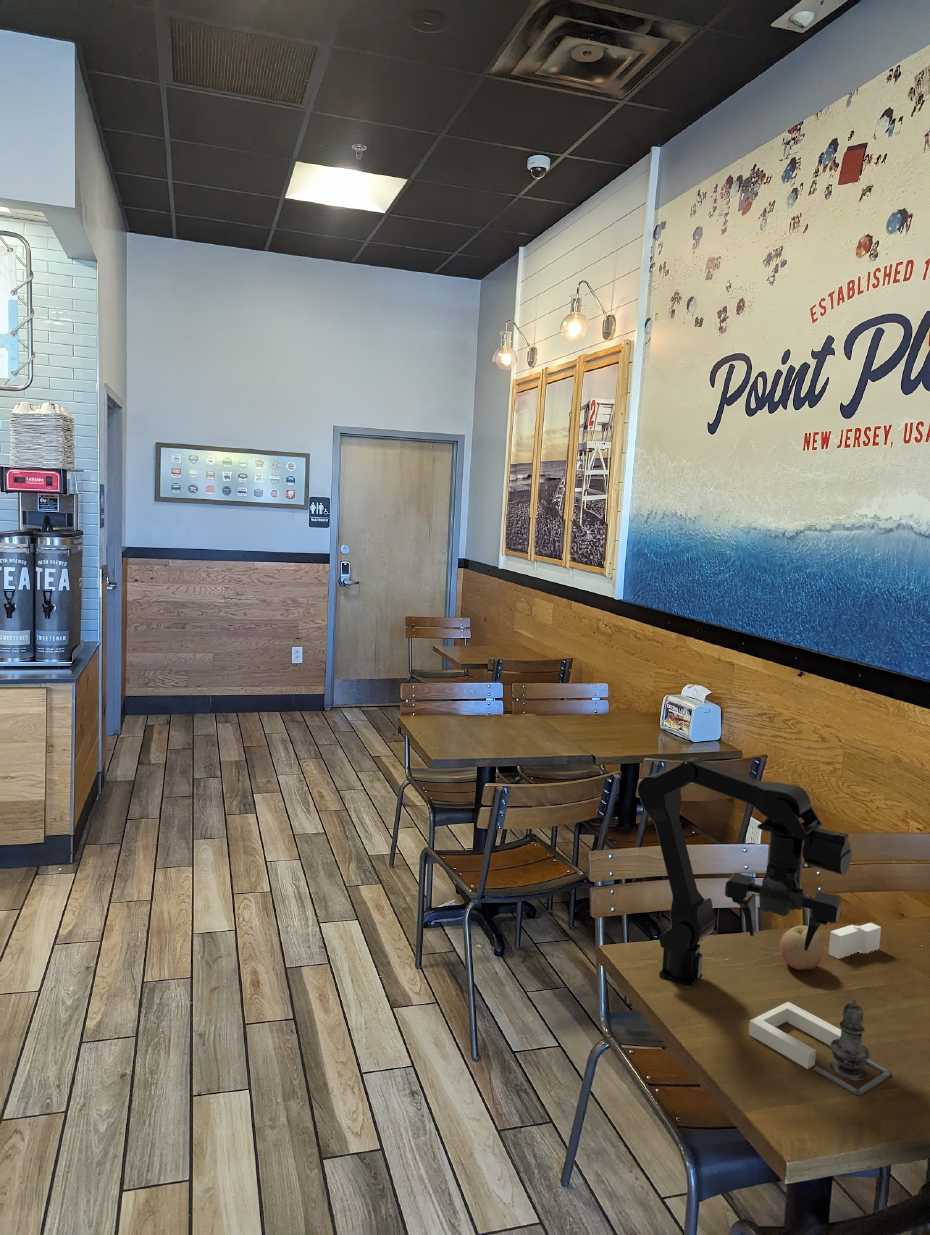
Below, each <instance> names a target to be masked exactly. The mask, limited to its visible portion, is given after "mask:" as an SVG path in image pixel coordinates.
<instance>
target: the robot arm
mask: <svg viewBox="0 0 930 1235" xmlns="http://www.w3.org/2000/svg"><path fill="white" fill-rule="evenodd" d="M691 783H693V784H696V785H698V786H701V787H703V788H706V789H709V790H712V791H714V792H717V793H720V794H721V795H722V794H723V795H725V796H727V797H730V798H733V799H736V800H739V801H741V802H744V803H746V804H747V805H750V806H752V807H753V808H754V809H755V810H756V811H758V812H759V813H760V814H761V815H763V816H764V817H766V818H765V820H764V821H762V822H761V823H759V824H758V825H757V829H759V830H762V831H765V832H769V835H768V852H767V862H766V864H767V865H766V870H765V875H764V877H763V880H762V883H761V884H756V879H755V877H754V876H752V875H747V874H742V873H738V872H734V873H733V874H732V875H731V876H730V878H728V880H727V881H726V883H725V888H724V896H725V897H727V898H729V899H731V900H732V902H733V903H735V904H737V905H738V906H739V907H740V909H741V911H742V913H743V915H744V918H745V921H746V925H747V928H748V932H749V936H750V937H754V935H755V931H756V904H757V903H756V898H757V897H759V898H758V901H759V909H760V910H761V911H762V912H765V913H773V914H777V915H778V916H782V917H786V916H788V915H789V914H790V912H791V911H795V910H798V911H801V910H802V908H806V909H810V910H811V915H810V917H809V918H808V925H807V926H808V931H807V935H806V940H805V949H804V950H805V951H807V950H808V947H809V945H810V943H811V941H812V938H813V936H814V934H815V932H818V931H817V930H818V929H819V928H820V926H821V925H823V926H827V925H829V923H832V924H833V923H837V921H838V919H839V917H840V915H841V911H842V900H841V898H840V897H839V896H837V895H834V894H829V893H826V892H820V891H817V892H816V894H815V896H814V897H812V896H807V895H805V893H804V889H803V888H801V882H802V873H803V872H802V870H803V869H802V868H803V862H804V863H806V864H808V866H809V867H812V868H815V869H816V868H817V869H818V870H819V869H820V870H823V871H826V872H830V873H834V874H836V875H841V876H845V875H847V872H848V871H849V868H850V865H851V861H852V854H853V851H852V848H851V847H852V846H851V843H850V841H849V834H848V833H844V832H839V831H832V830H829V829H824V828H821V827H822V826H823V823H821V820H820V818H819V817H818V816H817V814H816V812H815V810H814V809H813V806H812V805H811V798H810V796H809V794H808V793H807V791H806V790H805V789H804V788H803V787H801V786H798V785H794V784H788V783H782V782H771V781H770V782H769V781H762V780H759V779H755V778H753V777H749V776H748V775H743V774H742V773H737V772H735V771H732V770H729V769H728V768H727V769H726V768H724V767H721V766H718V765H715V764H713V763H710V762H708V761H706V760H703V759H702V758H701V757H700V758H699V757H692V758H689V759H686V760H684V761H681V763H680V764H679V765H677V766H676V767H673V768H672V769H670V770H668V771H667V770H662V771H659V772H657V773H654V774H651V775H649V776H646V777H644V778H643V779H641V780H640V782H639V784H638V785H637V795H638V797H639V800H640V802H641V806H642V807H643V809H644V811H645V813H647V815H648V816H649V818H650V819H651V820H652V821H653V824H654V826H655V829H656V834H657V837H658V841H659V846H660V851H661V855H662V858H663V862H664V865H665V866H664V867H665V871H666V874H667V879H668V883H669V887H670V890H671V894H672V895H671V896H672V900H671V906H670V912H669V913H670V915H669V916H670V926H671V927H670V928H669V929H667V930H665V931H664V932H663V933H661V934H659V936H658V940H659V944H660V947H661V948H662V949H663V952H662V953H663V954H662V967H661V969H660V971H659V973H658V975H659V977H661V978H665V979H668V980H672V981H675V982H677V983H682V984H684V985H687V986H693V985H694V984H695V982H696V981H697V980H698V979H699V978H700V977H701V975H702V971H703V970H702V969H703V953H701V944H699V943H700V942H702V941H704V939H705V938H706V937H707V936H709V935H711V934H712V933H713V931H714V929H715V926H716V922H715V921H716V920H717V918H718V917H717V916H716V914H715V912H714V908H713V900H712V898H710V897H708V898H704V897H703V896H702V895H701V893H700V892H699V890H698V887H697V884H696V880H695V875H694V872H693V867H692V863H691V859H690V854H689V852H688V847H687V842H686V838H685V835H684V831H683V827H682V823H681V819H680V814H681V808H682V807H681V806H682V788H685V787H686V786H688V785H690V784H691ZM801 819H802V821H803V822H801V821H800V820H801ZM803 859H804V860H803ZM756 896H757V897H756Z"/></svg>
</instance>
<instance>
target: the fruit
mask: <svg viewBox="0 0 930 1235" xmlns="http://www.w3.org/2000/svg"><path fill="white" fill-rule="evenodd" d="M808 926H809V925H803V924H802V925H796V926H793V927H791V928H790V929H788V930H787V931H785V933H784V934H783V936H782V937H781V940H780V945H779V946H780V947H779V948H780V953H781V955H782V958H783V960H784V961H785V963H786V964H787V965H788V966H789V967H791V968H792V969H795V970H798V971H799V970H806V971H807V970H811V969H814V968H816V966H818V965H819V964H820V963H821V962H822V960H823V958H824V954H825V953H824V952H825V947H824V943H823V939H822V937H821V936H820V934H819V933H818V931H816V932H815V934H814V936H813V938H812V941H811V943H810V945H809V947H808V950H807V951H805V950H804V949H805V940H806V935H807V931H808Z"/></svg>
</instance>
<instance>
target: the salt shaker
mask: <svg viewBox="0 0 930 1235" xmlns="http://www.w3.org/2000/svg"><path fill="white" fill-rule="evenodd" d="M843 1006H844V1007H843V1012H842V1013H843V1014H842V1020H841V1021H840V1023H839V1027H840V1030H841V1036H840V1038H838V1039H834V1040H833V1041H831V1043H830V1046H829V1047H830V1049H831V1053H832V1056H833V1058H834V1060H832V1061H831V1062H830V1064H829V1066H830V1069H831V1070H832V1072H833V1073H835V1074H836V1075H837V1076H839V1077H841V1078H843V1079H846V1080H848V1081H849V1080H850V1081H861V1080H864V1079H866V1077H867V1071H866V1070H865V1068H864V1067H865V1065H866V1062H867V1059H868V1060H870V1057H871V1054H870V1053H871V1052H870V1050H869V1049H868V1048H867V1047H866V1046H865V1045H864V1044H862V1038H863V1033H865V1028H864V1026H863V1021H864V1019H863V1018H864V1010H863V1007H861V1006H860V1005H858V1003H857V1001H856V999H853V1000H852V1001H851V1002H850V1003H846V1004H845V1005H843Z"/></svg>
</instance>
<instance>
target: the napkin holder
mask: <svg viewBox="0 0 930 1235" xmlns="http://www.w3.org/2000/svg"><path fill="white" fill-rule="evenodd" d="M881 930H882V927H881V926H880V925H877V924H875V923H873V922H868V923H865V924H862V925H854V924H850V925H847V926H843V927H841V928H837V929H834V930H831V931H830V933H829V934H830V935H829V943H828V955H830V956H832V957H833V958H836V959H837V960H839V959H840V960H841V959H843V958H846V957H849V956H852V955H855V954H857V952H859V953H858V954H860V953H863V954H864V953H867V954H869V952H870V951H873V952H875V951H874V950H876V951H879V950H880V942H881ZM878 949H879V950H878ZM854 953H855V954H854ZM870 953H871V952H870ZM851 954H852V955H851ZM845 956H846V957H845Z"/></svg>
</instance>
